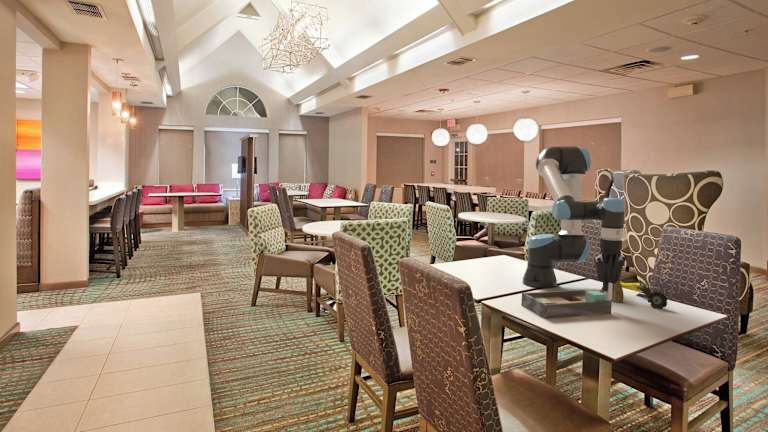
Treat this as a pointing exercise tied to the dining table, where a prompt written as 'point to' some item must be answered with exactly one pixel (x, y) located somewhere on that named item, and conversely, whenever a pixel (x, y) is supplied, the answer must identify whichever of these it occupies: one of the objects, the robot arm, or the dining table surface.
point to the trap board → (564, 304)
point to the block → (595, 296)
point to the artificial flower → (652, 296)
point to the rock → (616, 292)
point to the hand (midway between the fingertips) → (607, 299)
